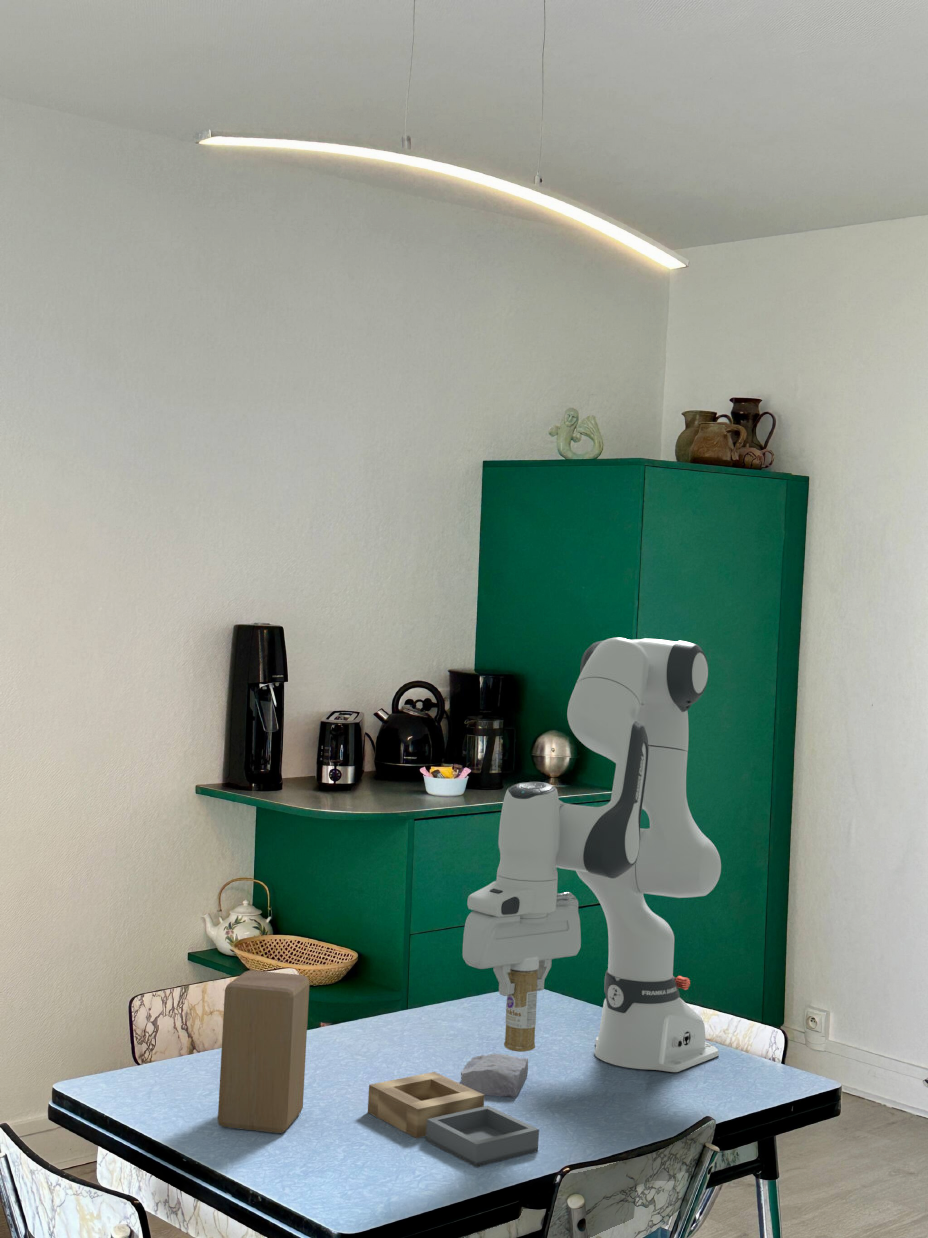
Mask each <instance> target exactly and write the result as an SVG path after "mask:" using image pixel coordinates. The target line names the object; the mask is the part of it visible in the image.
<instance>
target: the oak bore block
mask: <svg viewBox="0 0 928 1238" xmlns="http://www.w3.org/2000/svg"><path fill="white" fill-rule="evenodd" d="M367 1100H368V1101H367V1113H369V1114H371V1115H372V1116H374V1117H376V1118H378V1119H380V1120H382V1122H383V1121H384V1122H385V1123H387V1124H389V1125H391V1126H393V1127H394V1128H396V1129H399V1130H400V1131H402V1132H404V1133H405V1134H408V1135H410V1136H412V1137H414V1138H416V1139H419V1138H423V1137H426V1129H427V1119H430V1118H434V1117H439V1116H443V1115H448V1114H452V1113H457V1112H461V1111H466V1110H470V1109H475V1108H479V1107H483V1106H485V1095H484V1094H481V1093H479V1092H477V1091H475V1090H473V1089H471V1088H468V1087H466V1086H464V1085H462V1083H461V1082H457V1081H455V1080H453V1079H451V1078H448V1077H447V1076H445V1075H442V1074H440V1073H437V1072H436V1071H432V1072H426V1073H422V1074H416V1075H412V1076H406V1077H401V1078H396V1079H392V1080H390V1079H389V1080H386V1081H382V1082H375V1083H371V1084H369V1085H368V1098H367Z"/></svg>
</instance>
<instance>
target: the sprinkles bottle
mask: <svg viewBox="0 0 928 1238" xmlns="http://www.w3.org/2000/svg"><path fill="white" fill-rule="evenodd" d="M538 968H539V957H530V958H526V959H524V961H523V963H520V964H513V965H511V967H510V972H507V974H508V977H509V980H510V982H513V983H515V988H514V991H515V992H514V995H510V996H506V1005H505V1022H504V1023H505V1033H504V1034H505V1035H504V1043H503V1046H504V1048H506V1050H509V1051H512V1052H520V1053H525V1052H529V1051H532V1050H534V1049H535V1048H536V1043H535V1040H536V1024H537V1023H536V1022H537V1005H538V1004H537V1003H538V1002H537V1001H538V1000H537V999H538V991H537V972H538V970H537V969H538Z"/></svg>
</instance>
